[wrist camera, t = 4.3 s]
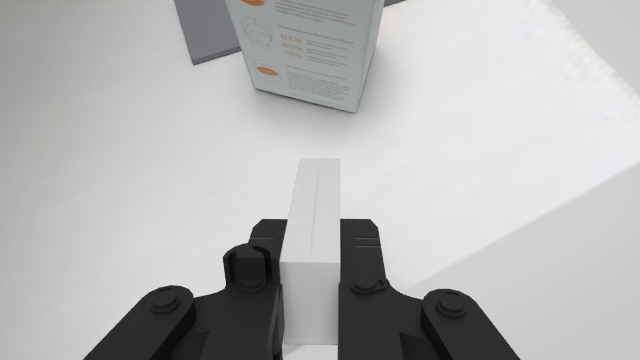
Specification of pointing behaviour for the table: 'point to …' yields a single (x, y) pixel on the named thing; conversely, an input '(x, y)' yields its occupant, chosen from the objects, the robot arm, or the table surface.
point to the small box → (308, 46)
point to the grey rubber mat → (211, 28)
